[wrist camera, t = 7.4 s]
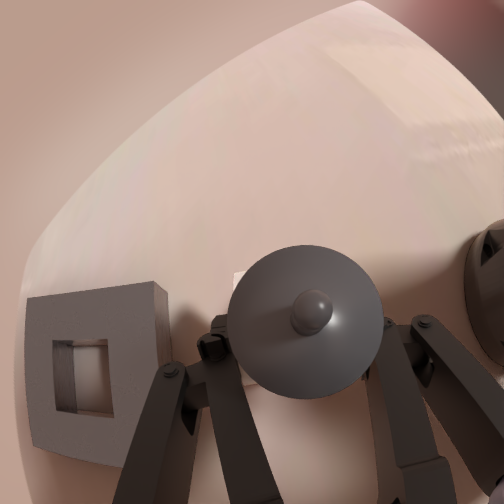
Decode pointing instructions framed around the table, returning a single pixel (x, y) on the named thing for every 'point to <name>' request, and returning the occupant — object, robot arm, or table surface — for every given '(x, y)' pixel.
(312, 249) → the orange lidded canister
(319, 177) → the table surface
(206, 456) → the table surface
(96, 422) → the grey square socket block
